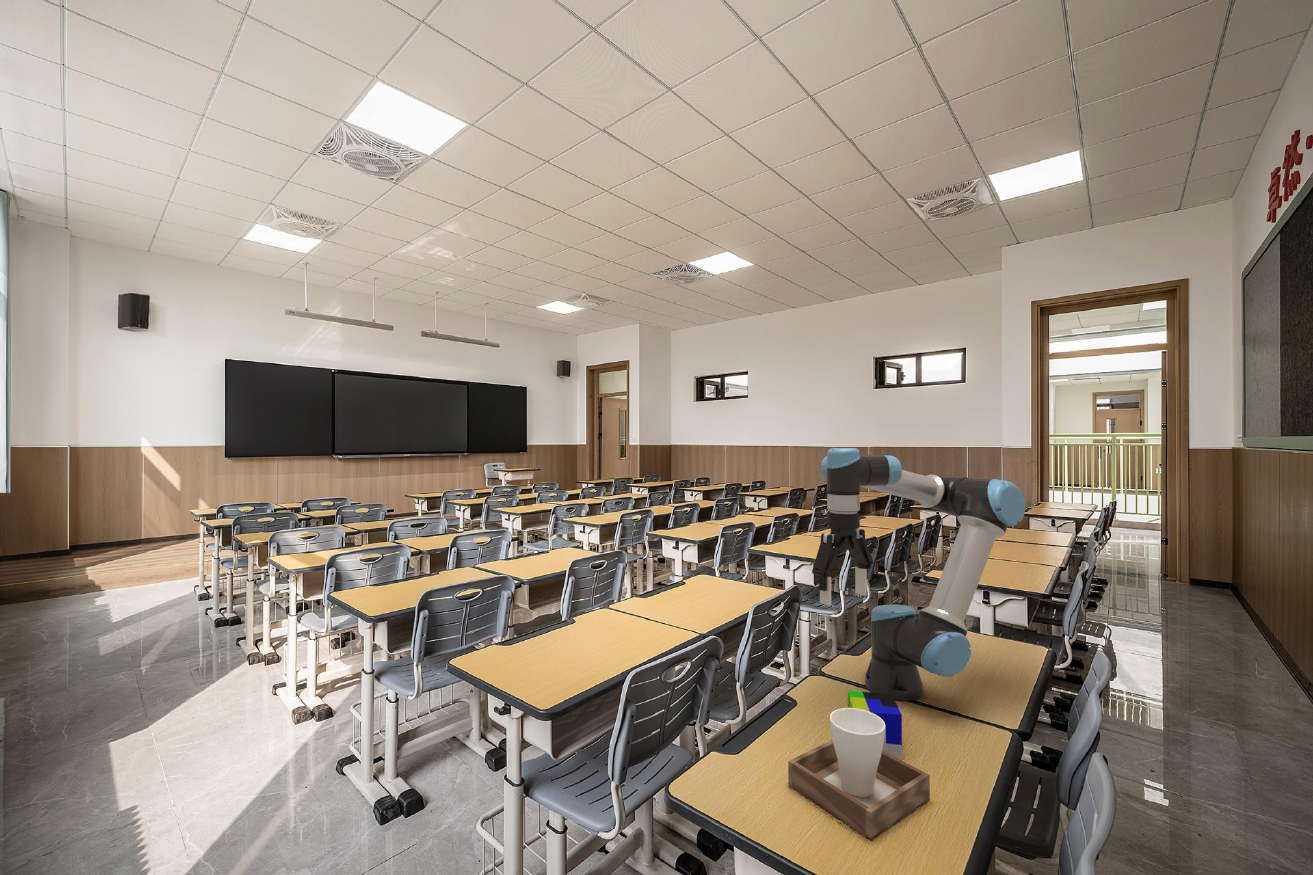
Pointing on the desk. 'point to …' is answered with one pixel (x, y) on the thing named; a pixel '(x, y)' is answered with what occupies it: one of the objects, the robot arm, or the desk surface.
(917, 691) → the robot arm
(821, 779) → the walled box
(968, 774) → the desk surface
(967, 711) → the desk surface
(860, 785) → the cup
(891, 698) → the puzzle toy
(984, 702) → the desk surface
